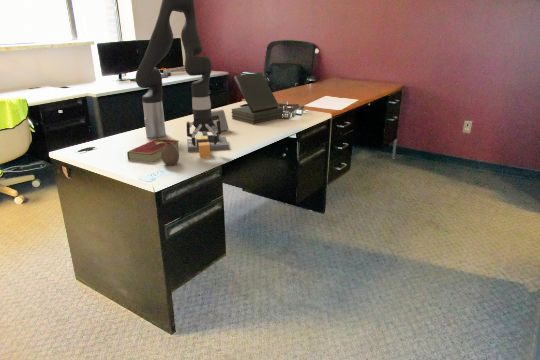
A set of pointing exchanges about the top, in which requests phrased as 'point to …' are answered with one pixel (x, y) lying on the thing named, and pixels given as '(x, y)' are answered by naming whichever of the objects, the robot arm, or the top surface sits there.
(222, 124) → the digital clock
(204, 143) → the orange rectangular block
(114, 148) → the top surface
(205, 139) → the block
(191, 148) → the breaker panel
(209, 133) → the block
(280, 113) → the angled tablet stand
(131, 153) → the hardcover book
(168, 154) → the vase
